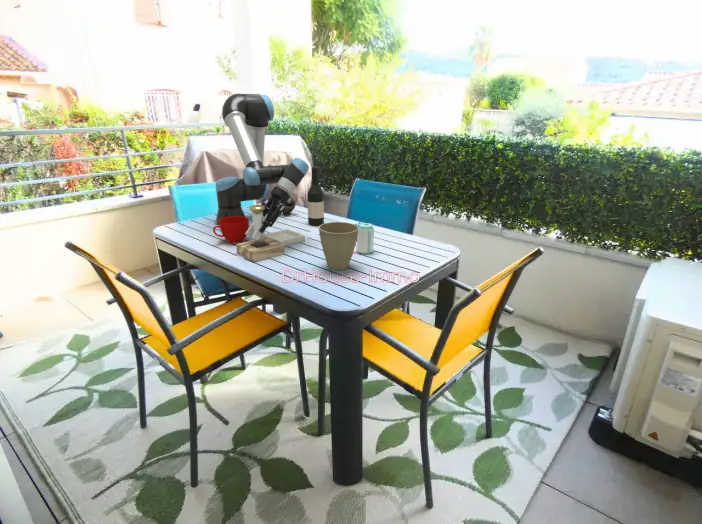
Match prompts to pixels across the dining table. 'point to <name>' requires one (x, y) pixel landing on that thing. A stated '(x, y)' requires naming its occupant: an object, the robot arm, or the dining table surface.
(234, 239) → the ceramic cup
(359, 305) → the dining table surface
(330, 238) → the plant pot
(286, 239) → the tray
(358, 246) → the can
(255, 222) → the pin
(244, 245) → the socket block
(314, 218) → the wine bottle
